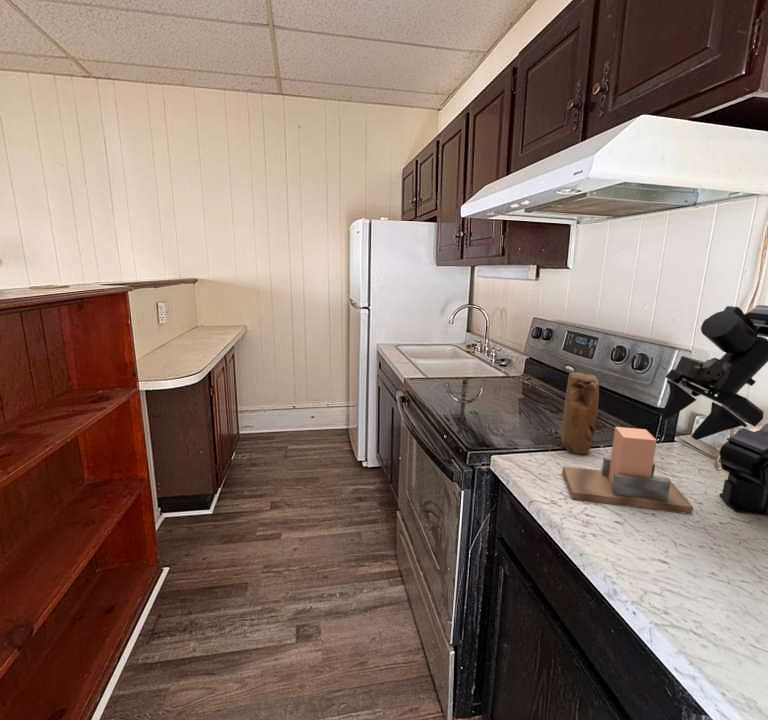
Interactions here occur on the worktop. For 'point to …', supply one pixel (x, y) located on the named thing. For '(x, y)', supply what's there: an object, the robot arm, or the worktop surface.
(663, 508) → the chute
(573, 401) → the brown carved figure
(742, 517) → the worktop surface
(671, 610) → the worktop surface
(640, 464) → the block
